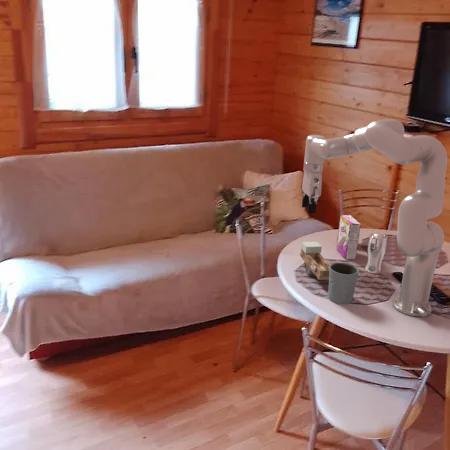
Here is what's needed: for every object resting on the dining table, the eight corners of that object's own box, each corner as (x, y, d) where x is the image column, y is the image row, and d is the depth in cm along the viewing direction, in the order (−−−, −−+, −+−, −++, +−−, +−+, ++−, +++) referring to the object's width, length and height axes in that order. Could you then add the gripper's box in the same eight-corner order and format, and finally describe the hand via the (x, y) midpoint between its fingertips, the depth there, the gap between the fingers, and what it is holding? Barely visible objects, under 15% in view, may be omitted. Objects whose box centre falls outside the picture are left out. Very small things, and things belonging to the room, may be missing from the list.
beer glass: (382, 275, 197) (388, 240, 192) (364, 272, 199) (370, 238, 193) (381, 267, 204) (386, 234, 199) (363, 265, 205) (369, 232, 200)
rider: (320, 257, 199) (321, 246, 197) (305, 258, 198) (306, 246, 196) (316, 252, 203) (317, 241, 202) (301, 253, 202) (302, 242, 200)
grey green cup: (339, 308, 171) (344, 276, 167) (319, 295, 179) (323, 265, 175) (360, 301, 176) (365, 270, 172) (340, 289, 184) (344, 259, 180)
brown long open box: (334, 286, 186) (336, 270, 184) (316, 287, 185) (318, 271, 183) (314, 261, 206) (315, 247, 204) (298, 262, 205) (299, 247, 203)
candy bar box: (335, 249, 220) (340, 214, 214) (346, 249, 221) (351, 214, 215) (345, 260, 209) (350, 223, 204) (356, 260, 210) (361, 223, 204)
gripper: (330, 172, 188) (324, 217, 195) (314, 161, 204) (310, 203, 211) (311, 172, 187) (306, 217, 193) (297, 161, 203) (293, 203, 209)
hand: (308, 209), depth 202 cm, fingers open, 6 cm apart
